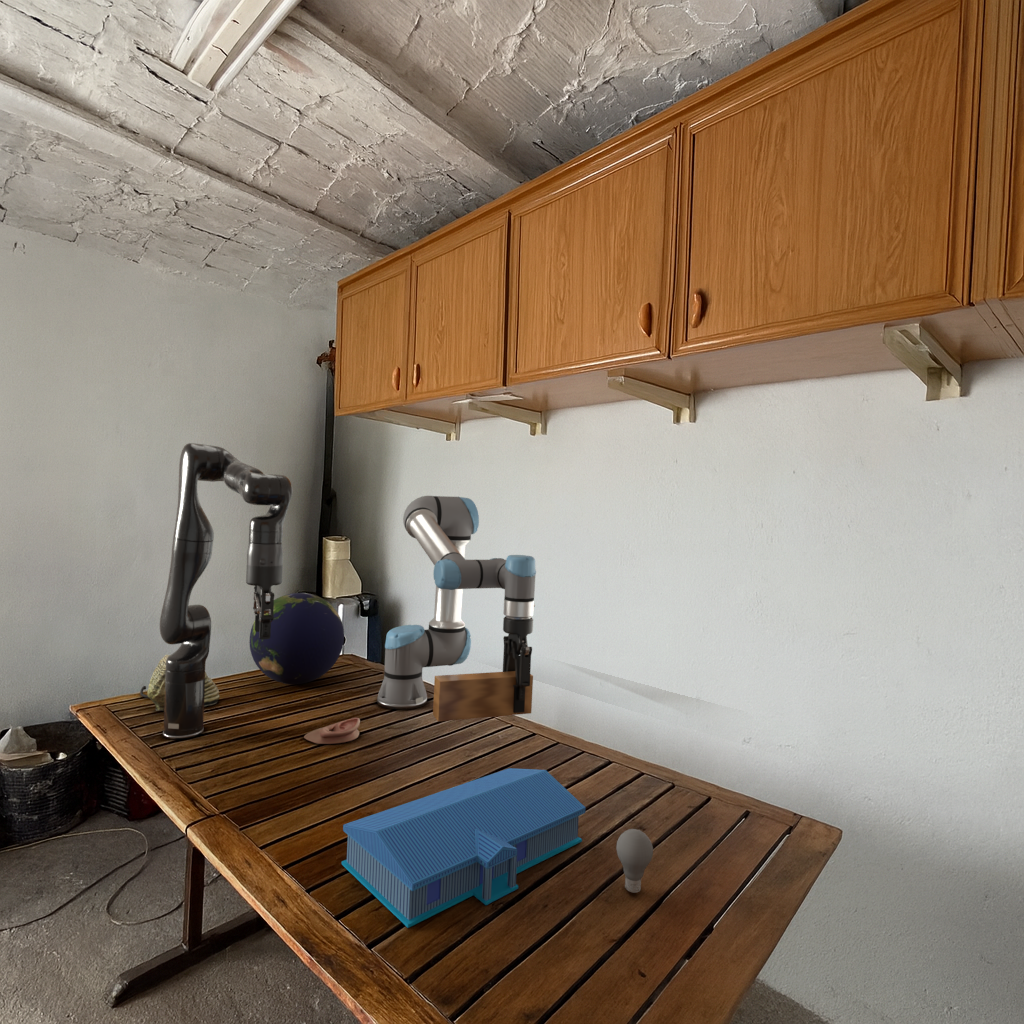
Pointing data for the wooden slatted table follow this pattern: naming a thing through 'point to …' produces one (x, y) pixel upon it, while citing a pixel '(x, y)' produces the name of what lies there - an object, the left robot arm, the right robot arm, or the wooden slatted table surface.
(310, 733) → the anatomical model
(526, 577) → the right robot arm
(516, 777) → the model building
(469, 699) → the bar
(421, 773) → the wooden slatted table surface
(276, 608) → the globe
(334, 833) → the wooden slatted table surface
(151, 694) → the fossil
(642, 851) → the light bulb
